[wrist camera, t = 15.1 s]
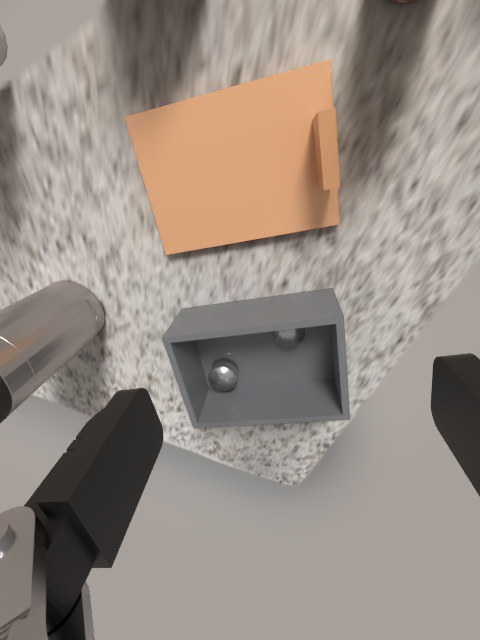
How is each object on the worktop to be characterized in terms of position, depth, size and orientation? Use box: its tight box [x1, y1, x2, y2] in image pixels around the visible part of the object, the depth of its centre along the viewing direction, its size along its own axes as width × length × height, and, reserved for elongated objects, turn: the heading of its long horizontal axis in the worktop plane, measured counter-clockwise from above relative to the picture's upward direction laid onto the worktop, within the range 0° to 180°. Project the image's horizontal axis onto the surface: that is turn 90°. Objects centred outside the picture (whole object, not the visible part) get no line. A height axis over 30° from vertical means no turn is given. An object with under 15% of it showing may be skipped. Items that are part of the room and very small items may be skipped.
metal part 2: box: [273, 328, 305, 348], centre depth 39 cm, size 4×4×2 cm
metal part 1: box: [208, 358, 239, 391], centre depth 44 cm, size 4×4×2 cm
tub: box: [162, 288, 350, 428], centre depth 40 cm, size 20×14×8 cm
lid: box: [124, 59, 340, 255], centre depth 31 cm, size 21×15×7 cm
